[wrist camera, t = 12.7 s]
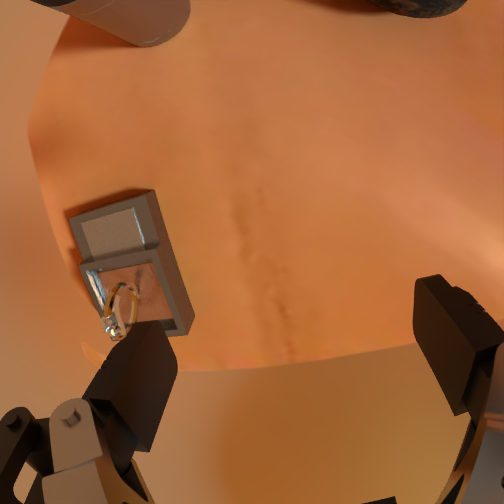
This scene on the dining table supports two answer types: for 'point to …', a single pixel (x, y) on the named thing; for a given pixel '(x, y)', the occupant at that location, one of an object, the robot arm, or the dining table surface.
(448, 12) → the glass bottle
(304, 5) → the dining table surface
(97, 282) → the grey tray
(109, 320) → the ring
